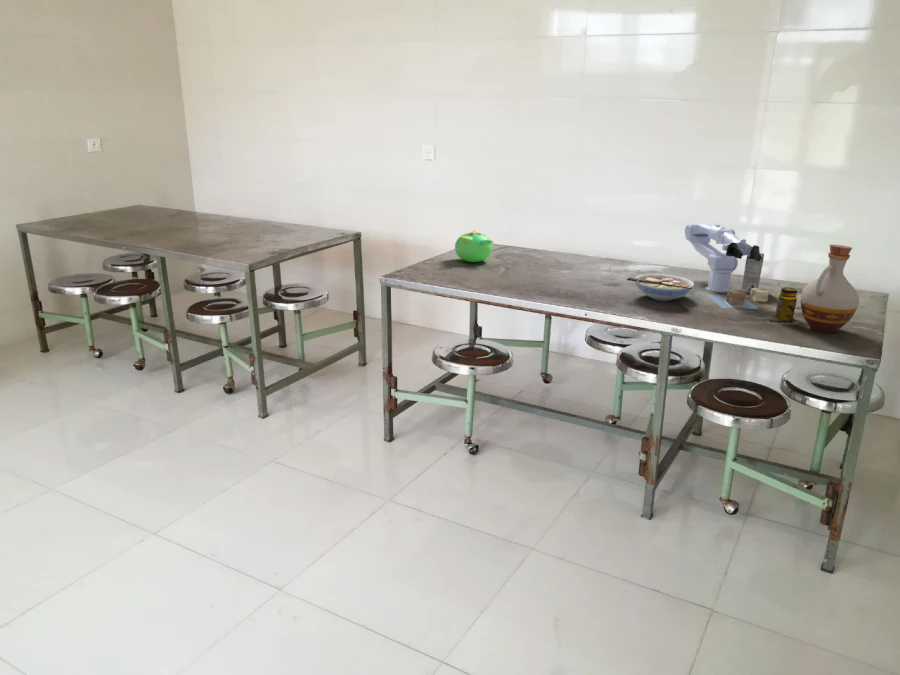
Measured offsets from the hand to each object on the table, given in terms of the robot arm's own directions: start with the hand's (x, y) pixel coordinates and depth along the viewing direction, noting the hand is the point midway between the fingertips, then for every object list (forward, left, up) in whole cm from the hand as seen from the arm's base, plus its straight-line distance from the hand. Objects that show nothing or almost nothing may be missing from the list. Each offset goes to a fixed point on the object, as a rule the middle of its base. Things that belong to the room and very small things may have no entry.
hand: (750, 257), depth 256 cm
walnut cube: (0, -3, -18) cm, 19 cm away
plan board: (-3, -3, -19) cm, 20 cm away
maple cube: (-7, +9, -20) cm, 23 cm away
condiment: (+16, +8, -20) cm, 27 cm away
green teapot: (-64, -104, -20) cm, 124 cm away
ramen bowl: (-8, -29, -20) cm, 36 cm away
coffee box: (-21, +11, -20) cm, 31 cm away
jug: (+26, +18, -20) cm, 37 cm away
